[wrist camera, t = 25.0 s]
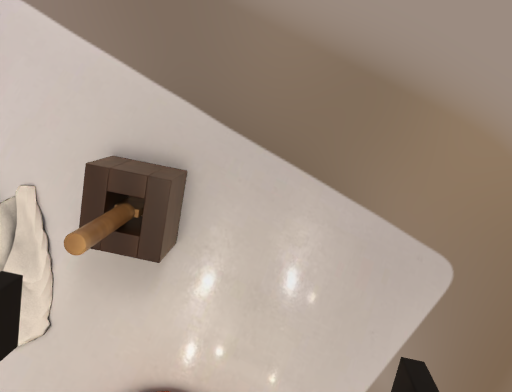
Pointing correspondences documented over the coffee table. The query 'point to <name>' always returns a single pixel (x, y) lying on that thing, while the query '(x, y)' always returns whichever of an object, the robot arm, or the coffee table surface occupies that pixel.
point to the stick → (103, 225)
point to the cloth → (27, 260)
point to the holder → (142, 186)
